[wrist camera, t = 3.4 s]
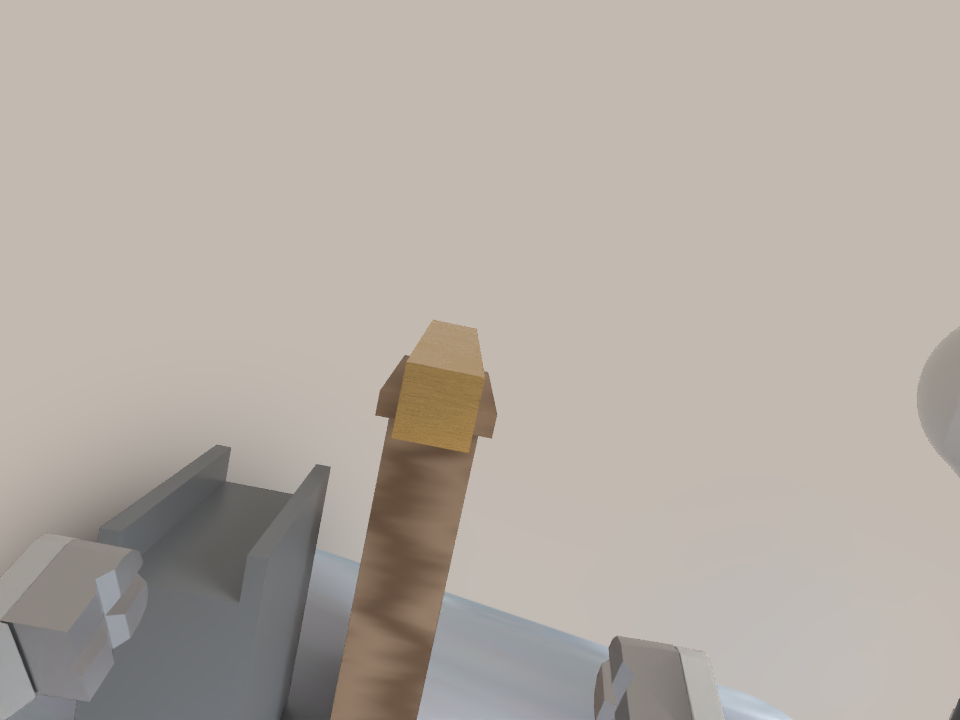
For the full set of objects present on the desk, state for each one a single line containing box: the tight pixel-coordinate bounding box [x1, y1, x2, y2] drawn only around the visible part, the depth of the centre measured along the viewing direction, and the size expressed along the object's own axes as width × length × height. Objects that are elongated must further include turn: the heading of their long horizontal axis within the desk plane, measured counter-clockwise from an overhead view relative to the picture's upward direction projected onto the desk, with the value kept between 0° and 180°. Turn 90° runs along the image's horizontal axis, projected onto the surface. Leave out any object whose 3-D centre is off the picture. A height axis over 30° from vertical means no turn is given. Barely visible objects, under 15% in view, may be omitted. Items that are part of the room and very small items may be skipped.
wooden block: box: [391, 320, 485, 453], centre depth 38 cm, size 22×4×4 cm, turn 0°
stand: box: [330, 355, 497, 720], centre depth 46 cm, size 7×15×26 cm, turn 0°
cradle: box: [74, 445, 330, 720], centre depth 38 cm, size 8×14×18 cm, turn 0°
